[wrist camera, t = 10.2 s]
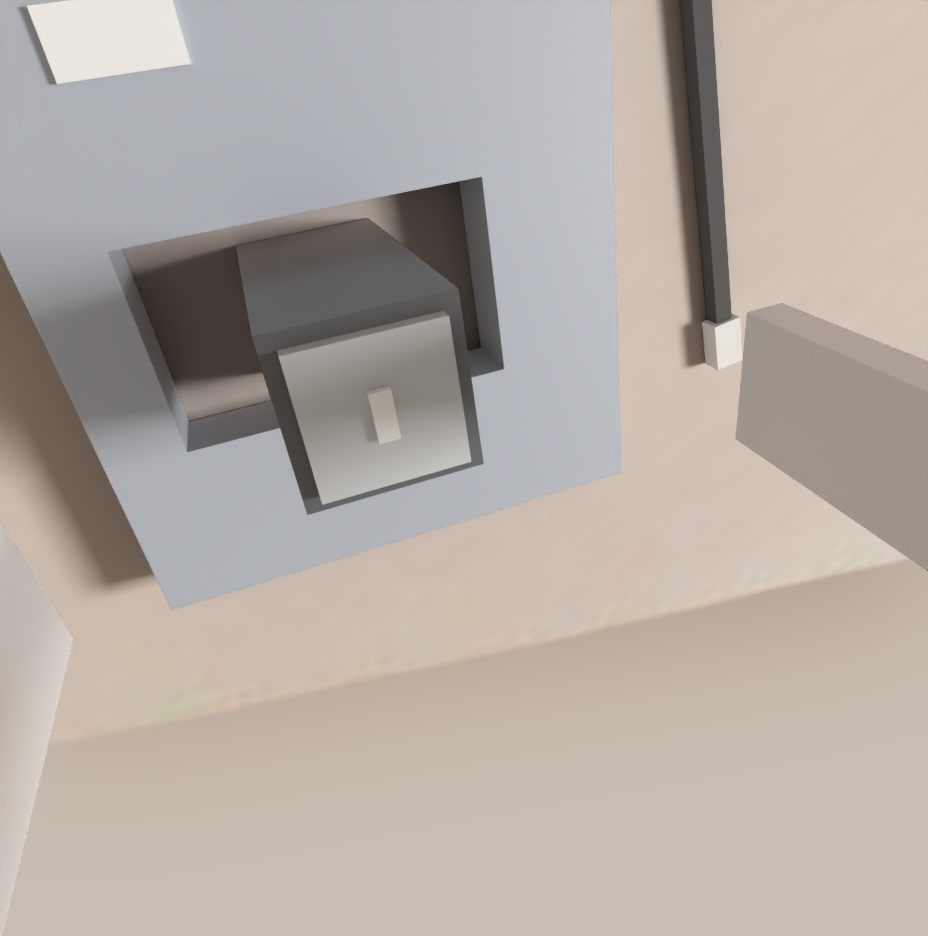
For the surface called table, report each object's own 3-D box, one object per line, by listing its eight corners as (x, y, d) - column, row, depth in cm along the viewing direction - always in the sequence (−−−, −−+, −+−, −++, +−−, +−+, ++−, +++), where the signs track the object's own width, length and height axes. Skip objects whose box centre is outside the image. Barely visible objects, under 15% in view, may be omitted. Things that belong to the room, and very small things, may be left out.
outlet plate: (-121, -75, 16) (-173, -102, 14) (564, -146, 20) (609, -176, 18) (174, 569, 27) (171, 613, 24) (592, 446, 30) (623, 474, 28)
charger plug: (235, 245, 22) (253, 345, 13) (367, 218, 23) (467, 295, 14) (273, 371, 24) (310, 529, 16) (393, 341, 25) (492, 475, 16)
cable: (662, -127, 21) (678, -135, 20) (695, -138, 21) (713, -147, 20) (705, 363, 30) (718, 370, 29) (728, 353, 30) (742, 359, 30)
